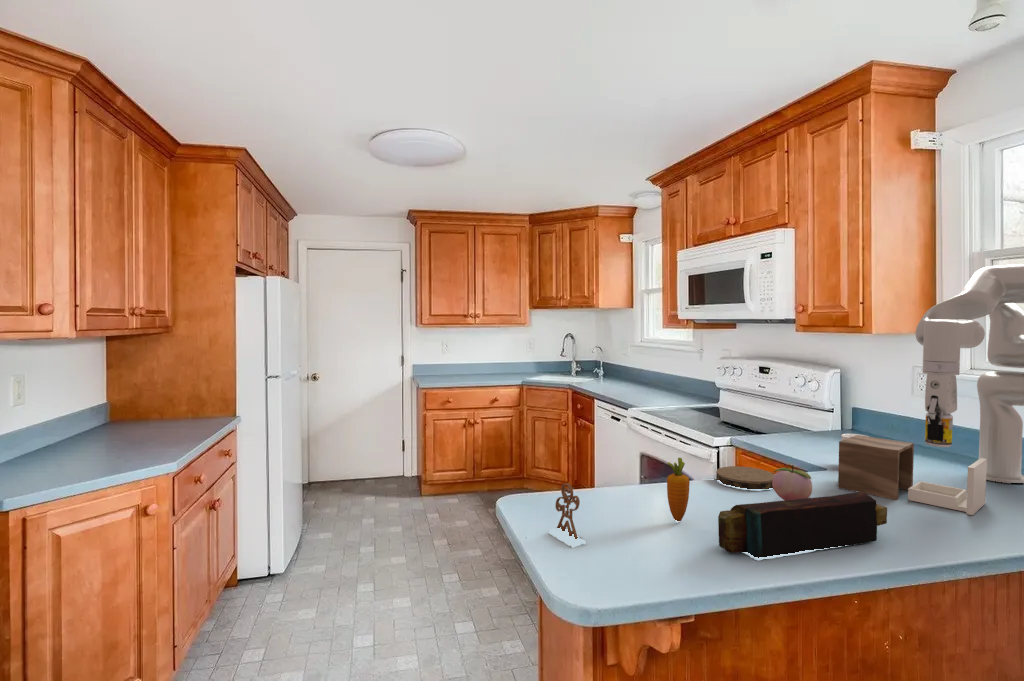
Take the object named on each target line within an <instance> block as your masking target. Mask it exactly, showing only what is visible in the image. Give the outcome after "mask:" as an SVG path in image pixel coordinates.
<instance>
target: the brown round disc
mask: <svg viewBox="0 0 1024 681" xmlns="http://www.w3.org/2000/svg"><path fill="white" fill-rule="evenodd" d="M715 471H716V475H715V476H716V480H720V481H721V482H722V483H723V484H726V485H731V486H735V487H740V488H747V489H769V488H773V486H772V481H773V478H774V475H775V473H774V472H771V471H768V470H765V469H761V468H756V467H751V466H742V465H741V466H740V465H739V466H734V465H732V466H730V465H729V466H723V467H719V468H717V469H716V470H715Z"/></svg>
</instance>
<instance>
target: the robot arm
mask: <svg viewBox="0 0 1024 681" xmlns="http://www.w3.org/2000/svg"><path fill="white" fill-rule="evenodd" d="M1016 304H1024V263H1020V264H1006V265H991V266H985V267H982V268H980V269H978V270H976V271H975V272H974V273H973V275H972V276H971V278H970V279H969V281H968V282H967V283H966V285H965V286H964V287H963V289H962V290H961V291H960V293H959V294H958V295H954V296H952V297H950V298H948V299H946V300H944V301H941V302H939V303H937V304H935V305H933V306H932V307H930V308H928V309H927V310H926V312H925V313H924V314H923V316H922V317H921V318H920V320H919V322H918V323H917V326H916V329H915V339H916V341H917V342H918V343H919V345H921V346H922V347H923V350H922V353H923V354H922V373H923V374H924V375H925V374H926V381H925V395H924V409H925V411H926V413H928V414H929V416H928V432H927V438H928V439H929V440H936V441H943V433H944V425H942V422H943V413H944V412H945V414H952V413H955V412H956V411H957V410H958V386H957V376H959V375H960V367H961V362H960V361H961V349H973V348H975V347H978V346H979V345H981V343H982V342H983V340H985V335H986V332H985V328H984V327H983V325H982V324H981V323H980V322H978V321H976V320H975V319H980V318H984V317H986V316H988V317H989V331H988V332H989V333H988V340H987V341H988V342H987V354H986V355H987V362H989V363H990V364H991V365H992V366H996V367H1002V368H1011V369H1012V368H1013V369H1014V368H1015V369H1024V311H1023V310H1022V308H1020V307H1019V306H1018V305H1016ZM976 391H977V395H978V400H979V411H980V412H979V414H980V415H979V439H978V440H979V441H978V442H979V444H978V460H979V459H980V458H984V459H987V466H986V481H990V482H995V481H996V482H997V483H1001V482H1002V484H1011V483H1023V484H1024V475H1023V474H1022V459H1023V456H1022V454H1023V453H1022V452H1023V431H1024V430H1023V429H1024V423H1023V419H1022V417H1021V415H1020V414H1019V412H1018V410H1016V409H1015V407H1014V406H1017V407H1021V406H1022V407H1024V372H1019V371H1002V370H1001V371H1000V370H999V371H998V370H997V371H996V370H995V371H988V372H987V371H986V372H984V373H982V374H981V375H980V376H979V377H978V379H977V383H976ZM936 410H939V411H941V412H936ZM938 415H939V416H938Z"/></svg>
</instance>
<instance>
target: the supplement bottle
mask: <svg viewBox="0 0 1024 681" xmlns="http://www.w3.org/2000/svg"><path fill="white" fill-rule="evenodd" d="M936 412H941V411H939V410H936ZM928 416H929V414H928V412H926V413H925V426H924V428H925V429H924V443H925V444H926V445H928V446H930V447H937V448H950V447H951V446H952V445H953V425H954V416H953V414H952V413H950V414H945V412H944V413H943V422H942V425H944V433H943V441H936V440H929V439H928V438H927V432H928ZM938 416H939V415H938Z"/></svg>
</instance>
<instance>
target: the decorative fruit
mask: <svg viewBox="0 0 1024 681" xmlns="http://www.w3.org/2000/svg"><path fill="white" fill-rule="evenodd" d="M773 473H774V478H773V481H772V486H773V489H772V490H773V491H774V493H775V494H776V495H777V496H778V497H779V498H781V499H782V501H784V500H794V499H803V498H811V495H812V492H813V481H812V477H811V475H810V474H809V473H808V472H806V471H804V470H799V469H794V465H791V468H788V467H780V468H777V469H775V470H774V471H773Z"/></svg>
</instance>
